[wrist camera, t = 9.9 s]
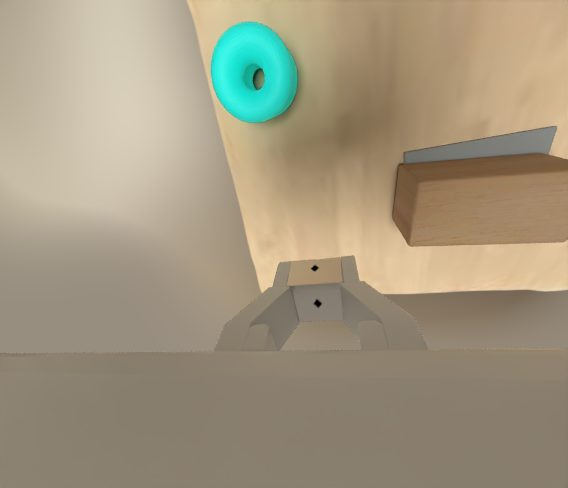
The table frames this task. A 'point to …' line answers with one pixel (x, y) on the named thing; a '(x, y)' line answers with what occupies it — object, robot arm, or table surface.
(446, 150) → the rubber mat
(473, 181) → the wooden block
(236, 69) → the donuts
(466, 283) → the table surface
